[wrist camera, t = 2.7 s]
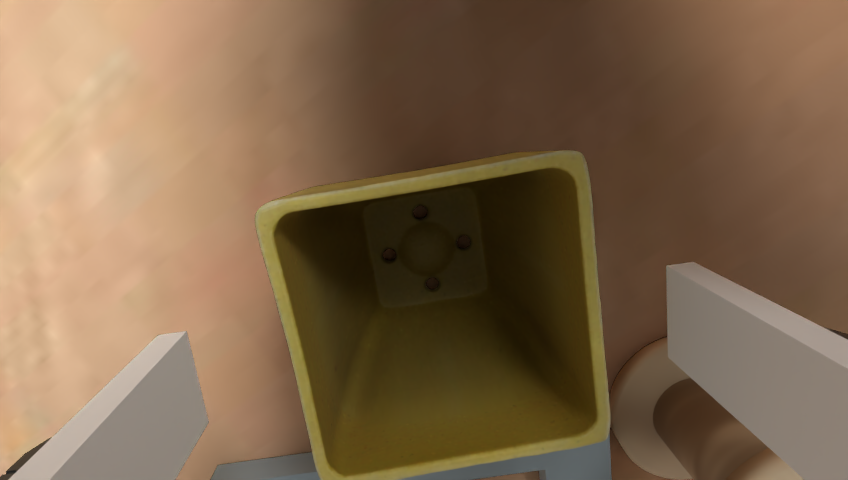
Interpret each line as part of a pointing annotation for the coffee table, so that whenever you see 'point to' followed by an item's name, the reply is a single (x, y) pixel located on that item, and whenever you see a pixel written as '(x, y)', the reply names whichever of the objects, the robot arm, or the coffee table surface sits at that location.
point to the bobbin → (683, 425)
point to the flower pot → (442, 314)
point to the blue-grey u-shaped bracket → (558, 471)
